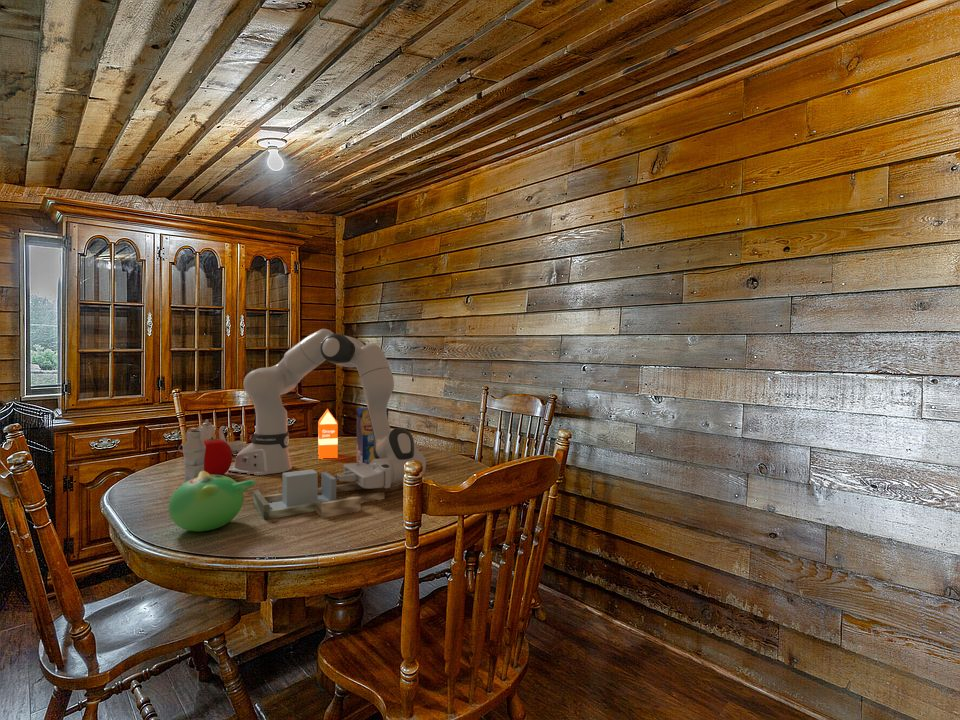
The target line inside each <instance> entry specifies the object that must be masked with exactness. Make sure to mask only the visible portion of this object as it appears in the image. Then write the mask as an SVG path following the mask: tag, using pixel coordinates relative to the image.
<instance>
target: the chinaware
mask: <svg viewBox="0 0 960 720" xmlns="http://www.w3.org/2000/svg"><path fill="white" fill-rule="evenodd" d="M225 427H226V426H225V425H222V426H220V427H219V429H218V436H219V438H218V439H221V440H224V441H225V442H227V444H228V445H229V446H230V448H231V451H232V454H238V453H239V452H240V451H242V450H243V449H244V448H245V447H246V444H247V441H242V440H235V441H227V440H226V437H225V434H224V431H223V430H224V428H225ZM215 429H216V425H215V424H212V423H211V422H209V420H208V419H205V420H204V422H203V423H202V424H201V425H198V426H197V427H192V428H189V429H188V430H187V431H186V432H185V433H184V434H185V435H184V438H185V440H186V441H187V440H188V438H187V436H188V431H194V430H200V431H201V437H200V439H201V440H202V441H203V440H204V441H205V440H208V439H211V437H213V439H216V438H215ZM185 443H186V442H181V444H180V445H179V446H178V451H179V452H180V453H183V450H182V451H181V450H180V448H181V446H182V448H183V446H184V444H185Z"/></svg>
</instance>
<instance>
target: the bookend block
mask: <svg viewBox="0 0 960 720" xmlns="http://www.w3.org/2000/svg"><path fill="white" fill-rule="evenodd" d="M281 473H282V474H281V476H282V484H281V485H282V489H281V491H282V492H281V493H282V501H278V502H272V503H269V505H270V510H272V509H279V508H285V507H291V506H297V505H304V504H310V503H316V502H320V503H322V502H328V501H334V500H337V493H336V485H337V477H335V476H333V475H332V474H330V473H328V472H327V471H324V472H323V471H322V472H321V475H320V477H321V483H320V484H321V486H320V488H321V494H323V495H318V488H319V487H318V478H319V475H318V474H319V473H318V472H317V471H316V470H314V469H313V468H312V469H305V470H304V469H303V470H302V469H301V470H294V471H285V472H281Z"/></svg>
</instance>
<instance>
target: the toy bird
mask: <svg viewBox="0 0 960 720" xmlns="http://www.w3.org/2000/svg"><path fill="white" fill-rule="evenodd" d="M183 483H184V482H183ZM183 483H182V484H181V485H179V487H178V488H176V490H175V491H174V492H173V494H172V495H171V497H170V499H169V501H168V502H169V503H168V514H169V517H170V519H171V520H172V522H173V523H174V524H175V525H176V526H177V527H179V528H181V529H183V530H185V531H189V532H199V533H200V532H208V531H211V530H215V529H218V528H219V529H220V528H221V527H223V526H225V525H226V524H227V525H228V523H230V522H231V521H232V520H234V518H235V517H236V516H237V515H238V514H239V512H240V511H241V509H242V507H243V505H244V504H243V503H244V496H245V495H244V493H245V492H246V491H247V490H250V489H251V488H252V487H254V485H256V484H257V479H250V480H249V479H248V480H243V481H239V482H237V481H236V480H235V479H233V478H231V477H229V476H226V475H210V474H209V473H207V472H206V471H201V472H200V473H199V474H198V477H196V478H193V479H191V480H189V481H187V482H185V483H184V484H183Z"/></svg>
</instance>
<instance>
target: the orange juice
mask: <svg viewBox="0 0 960 720" xmlns="http://www.w3.org/2000/svg"><path fill="white" fill-rule="evenodd" d="M317 423H318V424H317V425H318V428H317V431H318V437H317V440H318V441H317V443H318V444H317V445H318V449H317V451H318V455H319V456H318V460H319V459H321V460H324V459H323V458H339V457H338V456H339V455H338V454H339V453H338V449H339V448H338V445H339V441H338V440H339V438H338V436H339V435H338V434H339V433H338V429H339V425H338V420H337V419H335V417H334V416H333V414H332V413H331V412H330V410H329V408H326V410H325V412H324V413H323V414H322V416H321V417H320V418H319V420H318V422H317Z"/></svg>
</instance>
